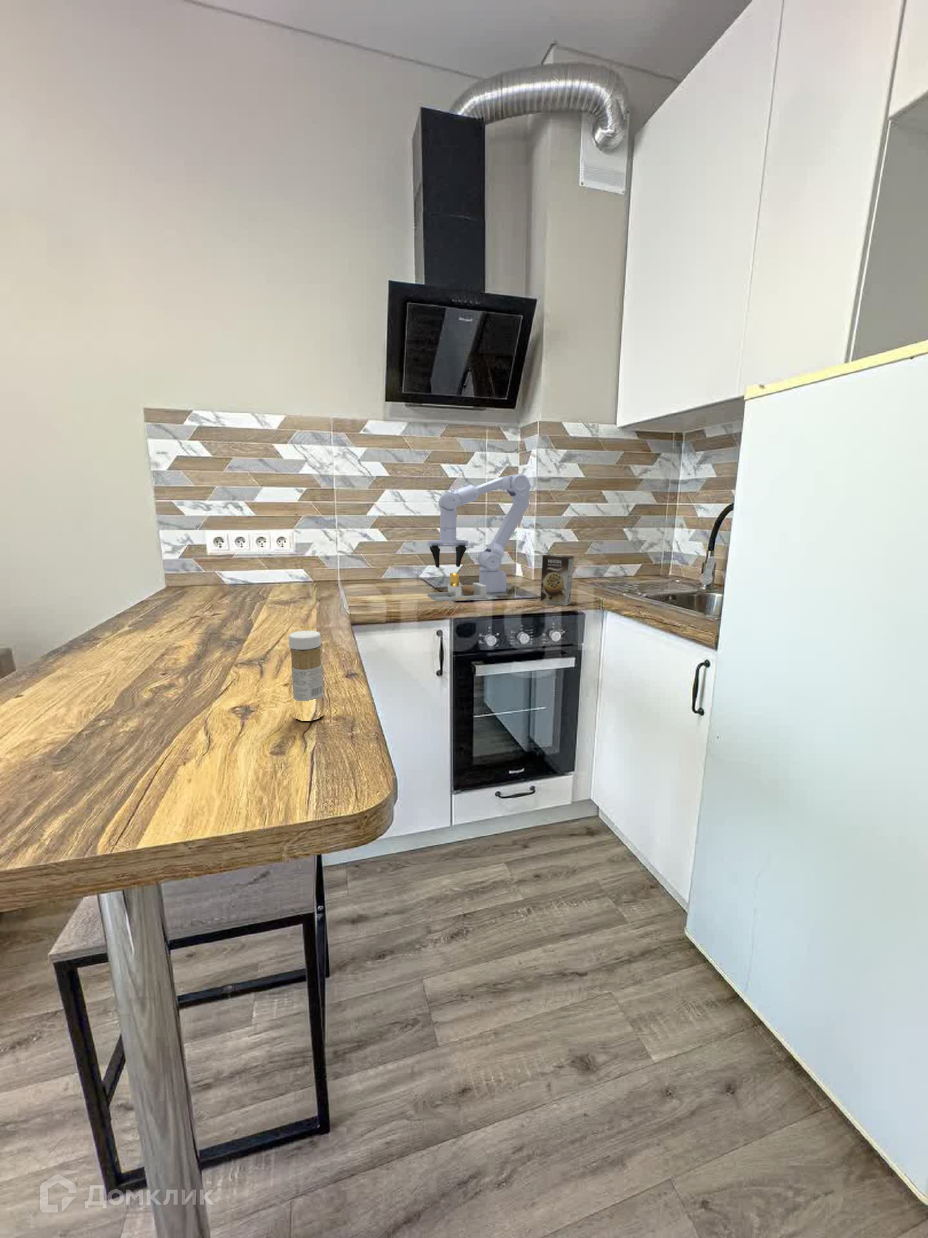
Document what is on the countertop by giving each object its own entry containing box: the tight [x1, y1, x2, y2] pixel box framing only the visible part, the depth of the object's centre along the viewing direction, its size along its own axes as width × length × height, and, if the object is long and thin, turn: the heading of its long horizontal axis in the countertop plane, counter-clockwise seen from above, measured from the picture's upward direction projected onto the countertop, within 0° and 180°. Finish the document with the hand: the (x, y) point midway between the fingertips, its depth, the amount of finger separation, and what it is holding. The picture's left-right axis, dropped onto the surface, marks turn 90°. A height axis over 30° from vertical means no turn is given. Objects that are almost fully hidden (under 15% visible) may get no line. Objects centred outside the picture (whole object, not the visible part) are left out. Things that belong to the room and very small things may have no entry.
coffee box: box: [539, 554, 575, 607], centre depth 174 cm, size 9×6×16 cm
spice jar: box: [288, 630, 324, 701], centre depth 80 cm, size 5×5×14 cm
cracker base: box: [426, 582, 488, 602], centre depth 177 cm, size 18×11×6 cm, turn 110°
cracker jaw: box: [447, 572, 462, 597], centre depth 176 cm, size 3×8×8 cm, turn 20°
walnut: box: [461, 584, 474, 596], centre depth 178 cm, size 4×4×4 cm
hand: (447, 567), depth 186 cm, fingers open, 7 cm apart
